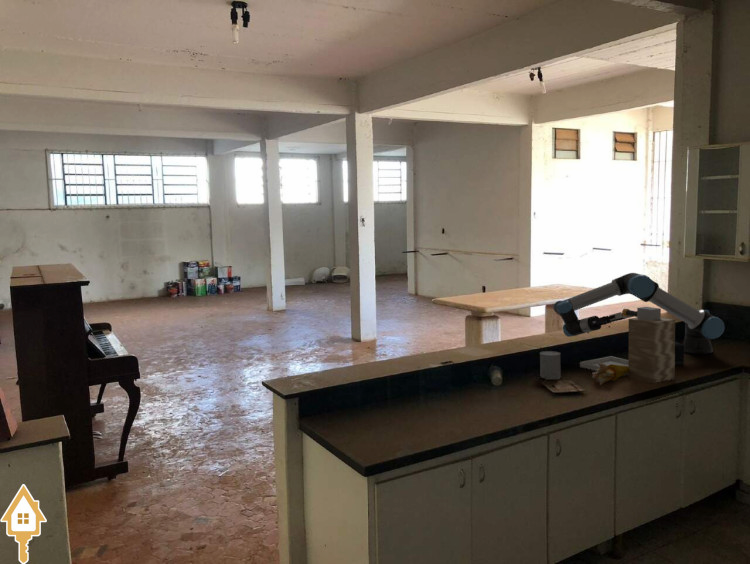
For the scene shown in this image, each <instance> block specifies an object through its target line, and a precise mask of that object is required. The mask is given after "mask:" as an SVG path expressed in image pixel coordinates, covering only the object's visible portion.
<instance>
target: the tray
mask: <svg viewBox="0 0 750 564" xmlns="http://www.w3.org/2000/svg"><path fill="white" fill-rule="evenodd" d="M600 362H602V363H603V364H605V365H606V366H609V365H611V364H613V365H622V366H628V367H629V359H625V358H621V357H617V356H612V355H610V356H604V357H600V358H594V359H589V360H584V361H580V362H579V367H580V368H582V369H586V368H587V370H590V369H591V370H590V371H594V370H595V371H594V372H597V370H596V369H598V368H600V366H599V364H598V363H600ZM623 377H629V372H628V373H627V374H625V375H623V376H621V377H620V378H623Z"/></svg>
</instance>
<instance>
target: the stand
mask: <svg viewBox="0 0 750 564" xmlns="http://www.w3.org/2000/svg"><path fill="white" fill-rule="evenodd" d="M675 342H676V319H674V318H667V317H661V319H659V320H653V321H651V320H644V319H638V318H637V317H631V318H628V360H629V375H628V378H631V379H635V380H638V379H639V380H638V381H643V382H646V381H647V382H646V383H650V382H651V383H650V384H653V383H654V384H658V383H657V382H659V383H661V382H662V381H663V382H667V381H671V379H672V380H675V377H676V375H675V373H676V370H675V369H676V367H675V366H676V365H675ZM666 380H667V381H666Z"/></svg>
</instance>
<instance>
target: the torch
mask: <svg viewBox="0 0 750 564" xmlns="http://www.w3.org/2000/svg"><path fill="white" fill-rule="evenodd" d="M598 364H599V366H600V368H598V369H596V370H597V371H594V372H592V373H591V374H592V377H591V378H593V379H595V380H596V382H599V385H603V384H606V383H607V382H608V381H612V382H615V381H616V380H617V379H619V378H622V377H621V376H623V375H625V374H627V373H628V372H629V367H628V366H622V365H613V364H611V365H609V366H606V365H605V364H603V363H602V362H600V363H598ZM623 377H624V376H623Z"/></svg>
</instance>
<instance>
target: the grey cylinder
mask: <svg viewBox="0 0 750 564" xmlns="http://www.w3.org/2000/svg"><path fill="white" fill-rule="evenodd" d="M539 365H540V366H539V368H540V369H539V372H540V373H539V374H540V376H541V377H542V378H546V379H560V378H561V374H562V371H561V369H562V368H561V352H560V351H559V352H558V351H554V350H553V351H552V350H544V351H540V352H539ZM560 380H561V379H560Z"/></svg>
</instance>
